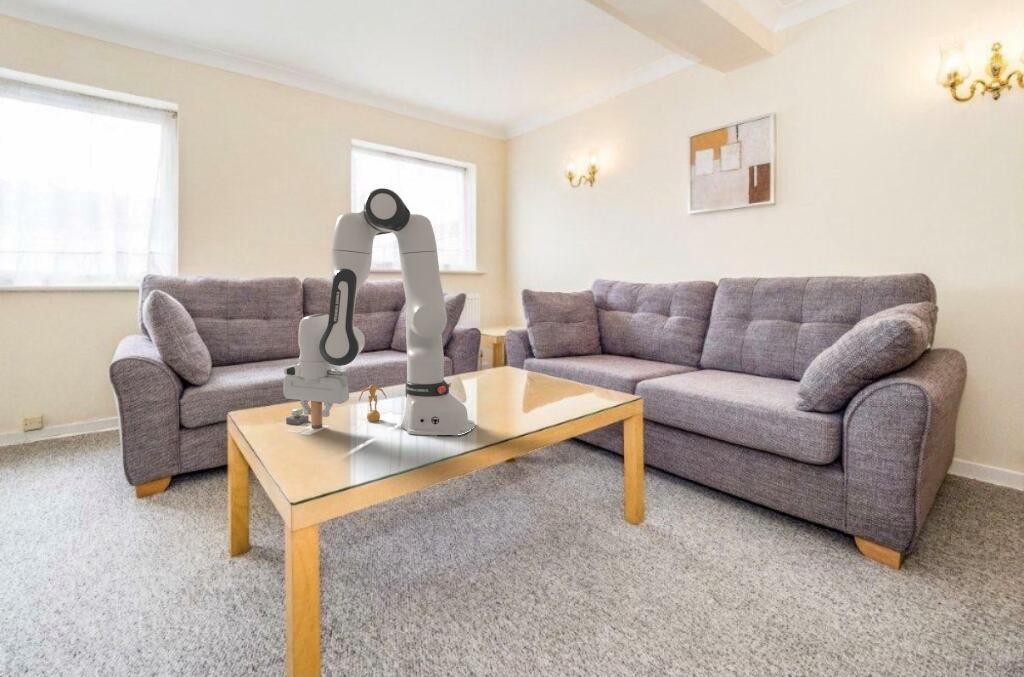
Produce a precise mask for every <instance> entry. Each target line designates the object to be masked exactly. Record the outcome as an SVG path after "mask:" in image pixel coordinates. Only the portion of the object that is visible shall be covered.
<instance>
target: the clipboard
mask: <svg viewBox="0 0 1024 677" xmlns="http://www.w3.org/2000/svg"><path fill="white" fill-rule="evenodd" d="M309 418H310V417H309V415H305V414H300V415H299V418H296V415H291V416H287V417H286V418H285V422H286V424H288V425H295V426H293V427H291V428H290V429H287V430H284V431H283V432H284V433H290V434H291V433H292V434H296V435H307V436H311V435H313V434H315V433H317V432H319V431H322V430H324V429H326V428H329V427H330V425H325V424H323V427H322V428H319V429H312V424H311V422H310V423H309V421H310V420H309Z"/></svg>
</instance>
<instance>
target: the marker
mask: <svg viewBox="0 0 1024 677" xmlns="http://www.w3.org/2000/svg"><path fill="white" fill-rule="evenodd" d="M310 408H311V414H310V416H311V418H310V419H311V422H310V423H311V424H312V429H319V428H322V427H323V425H324V424H323V417H322V416H321V415H322V413H321V411H323V402H317V401H310Z"/></svg>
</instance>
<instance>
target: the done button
mask: <svg viewBox="0 0 1024 677" xmlns="http://www.w3.org/2000/svg"><path fill="white" fill-rule="evenodd" d="M290 412H291V416H293V415H296V418H299V415H304V409H303V407H302V408H301V407H300V408H299V407H298V408H292V409H291V411H290Z"/></svg>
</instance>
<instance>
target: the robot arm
mask: <svg viewBox="0 0 1024 677" xmlns="http://www.w3.org/2000/svg"><path fill="white" fill-rule="evenodd" d="M391 233H393V235H394V236H395V238H396V239H397V244H398V245H397V246H398V252H399V260H400V269H401V278H402V284H403V291H404V296H405V303H406V312H405V337H406V338H405V339H406V377H407V378H406V381H405V398H406V401H405V402H406V403H405V408H404V409H405V410H404V415H403V419H402V423H401V427H402V429H404V430H405V431H407V433H408V434H409V435H420V436H437V435H458V434H462V433H465V432H467V431H469V430H470V429H472V428H473V427H474V425H475V426H476V423H475V421H474V420H471V419H469V415H468V411H467V408H466V406H465V405H464V404H463V403H462V402H461V401H459V400H458V399H457V398H456V397H455V396H453V395H452V394H451V393H450V388H451V385H452V383H451V382H449V383H447V381H446V380H444V377H445V376H444V372H445V371H444V369H445V368H444V365H445V364H444V363H445V362H444V361H445V358H444V357H445V355H444V348H443V336H442V334H443V332H444V330H445V329H446V327H447V323H448V317H447V316H448V315H447V311H446V310H447V309H446V302H445V295H444V292H443V287H442V282H441V281H442V280H441V274H440V265H439V255H438V248H437V242H436V236H435V232H434V228H433V225H432V222H431V220H430V219H429V218H428V217H427V216H424V215H422V214H414V213H411V211H410V210H409V208H408V207H407V205H406V204H405V202H404V201H403V199H402V198H401V197H400V196H399V195H398V194H397V193H396V192H395V191H393V190H391V189H388V188H384V187H381V188H376V189H374V190H372V191H371V192H369V193H368V194H367V195H366V197H365V199H364V203H363V210H362V211H360V212H345V213H343V214H340V215H339V216H338V218H337V219H336V222H335V225H334V229H333V235H332V241H331V242H332V243H331V252H330V254H331V255H330V256H331V257H330V258H331V260H330V262H331V263H330V264H331V265H330V266H331V268H330V269H331V294H330V304H329V311H328V312H329V313H328V314H327V313H317V314H311V315H306V316H304V317H303V318H301V319H300V321H299V325H298V336H297V337H298V340H297V341H298V344H297V345H298V349H299V357H298V363H296V364H294V365H290V366H288V367H287V366H286V367H284V369H283V373H284V375H285V376H284V378H283V396H284V397H285V398H286V399H291V400H300V401H299V404H300V405H301V407H302V409H303V415H308V416H309V415H310V416H311V406H310V405H309V402H311V401H317V402H322V403H323V406H324V409H322V411H321V413H322V415H321V416H322V418H329V417H330V415H331V413H330V410H331V409H332V407H333V406H334V404H335V405H336V404H339V405H342V404H344V403H347V402H348V401H349V399H350V390H349V385H348V376H347V375H346V374H345V373H344V372H343V371H338V370H337V371H336V370H333V366H337V367H338V366H339V367H342V366H346V365H348V364H351V363H352V362H353V361H354V360H355V359H356V357H357V356H358V355H359V354H360V353H361V352H362V351H363V349H364V348H365V346H366V345H365V344H366V338H365V335H364V332H363V331H362V330H361V329H360V328H358V326H357V327H356V326H354V320H355V310H356V300H357V299H356V298H357V296H358V293H359V290H360V289H361V287H362V285H363V284H364V283H365V282H366V281H367V279H368V277H369V276H370V270H371V266H372V261H373V260H372V259H373V245H374V239H375V237H376V236H380V235H387V234H391ZM474 428H475V427H474Z"/></svg>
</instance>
